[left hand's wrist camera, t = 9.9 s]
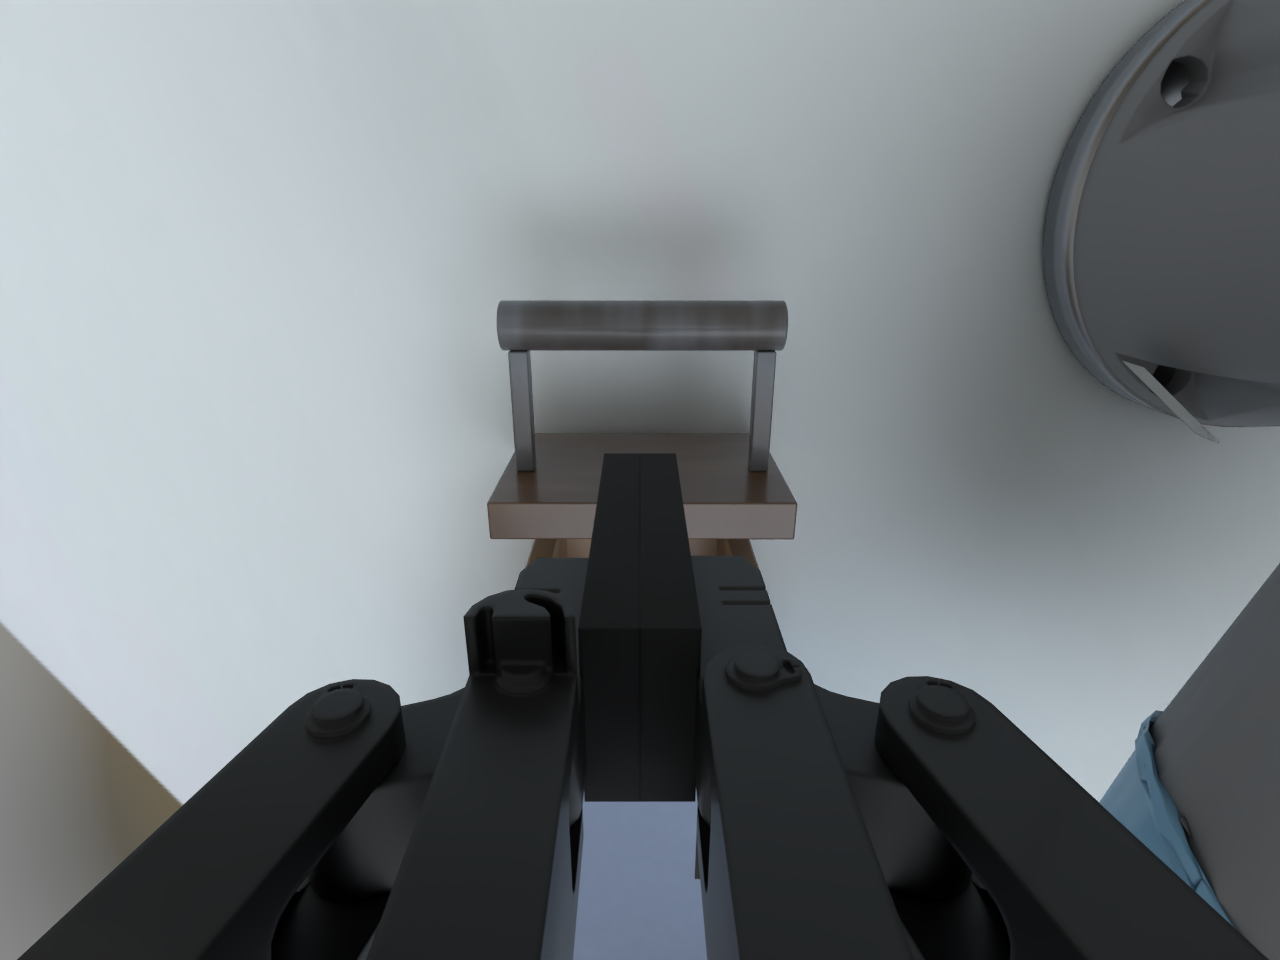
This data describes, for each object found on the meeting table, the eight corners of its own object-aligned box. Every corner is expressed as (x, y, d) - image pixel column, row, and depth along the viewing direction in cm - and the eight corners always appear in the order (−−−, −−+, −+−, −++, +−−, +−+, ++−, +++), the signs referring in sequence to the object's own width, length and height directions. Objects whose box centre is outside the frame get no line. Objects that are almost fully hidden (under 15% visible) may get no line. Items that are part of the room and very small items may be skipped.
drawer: (514, 287, 25) (470, 313, 18) (769, 287, 25) (814, 314, 18) (548, 825, 34) (526, 968, 28) (734, 825, 34) (756, 968, 28)
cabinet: (525, 616, 31) (483, 762, 23) (757, 616, 31) (800, 763, 23) (548, 946, 39) (523, 1146, 30) (734, 947, 39) (759, 1147, 30)
